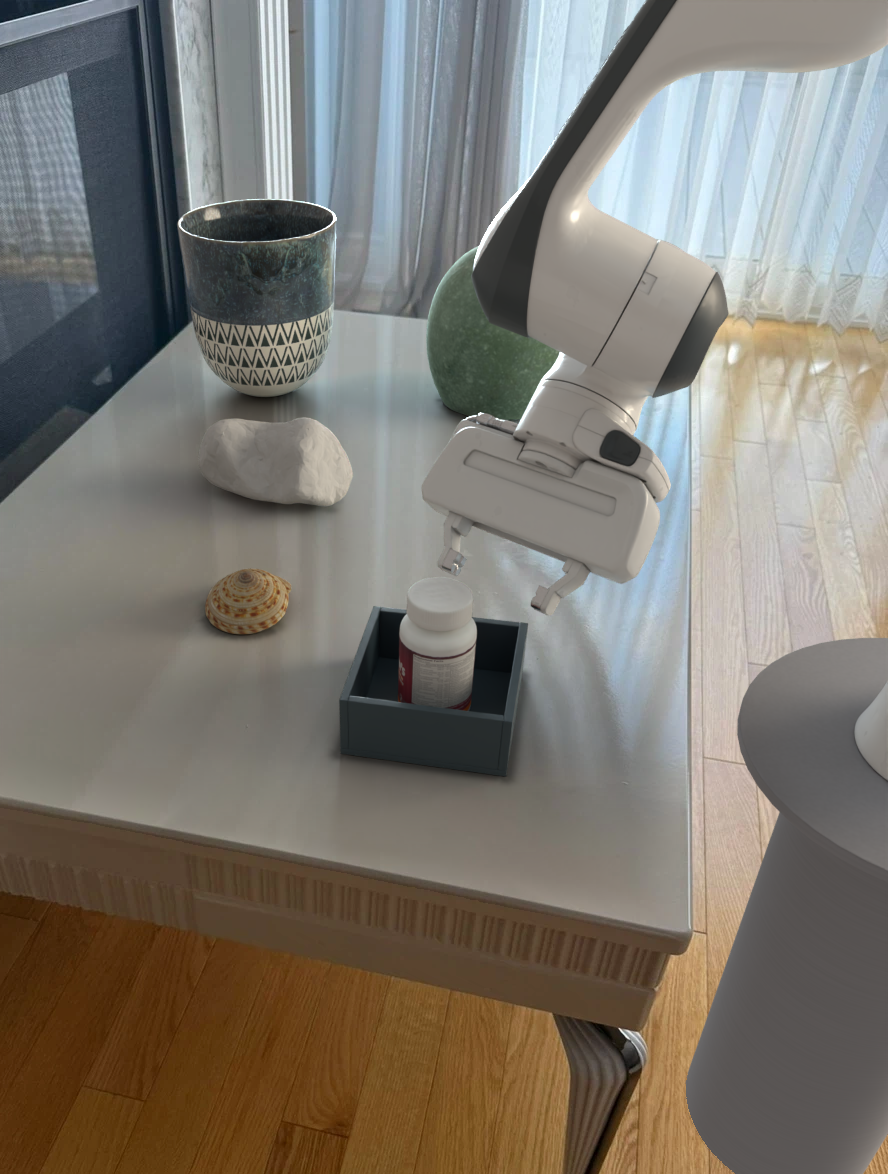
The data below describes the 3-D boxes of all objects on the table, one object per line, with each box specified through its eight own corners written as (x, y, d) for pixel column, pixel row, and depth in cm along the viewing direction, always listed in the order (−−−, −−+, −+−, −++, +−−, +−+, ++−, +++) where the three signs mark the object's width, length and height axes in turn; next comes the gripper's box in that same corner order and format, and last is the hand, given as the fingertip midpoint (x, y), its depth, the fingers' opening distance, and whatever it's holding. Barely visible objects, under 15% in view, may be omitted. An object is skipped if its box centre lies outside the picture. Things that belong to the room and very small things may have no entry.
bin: (522, 675, 92) (528, 622, 89) (506, 776, 82) (512, 722, 79) (373, 657, 95) (373, 605, 91) (340, 753, 85) (338, 699, 81)
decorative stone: (367, 457, 120) (342, 406, 110) (344, 535, 117) (317, 490, 108) (232, 445, 125) (198, 396, 116) (208, 519, 123) (171, 475, 114)
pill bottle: (401, 682, 91) (403, 570, 83) (472, 686, 90) (481, 574, 83) (394, 727, 86) (396, 613, 79) (469, 733, 85) (478, 618, 78)
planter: (245, 432, 132) (231, 252, 118) (169, 384, 144) (148, 216, 130) (368, 393, 140) (368, 222, 127) (287, 351, 152) (278, 191, 139)
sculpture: (571, 379, 143) (590, 223, 130) (573, 429, 131) (595, 261, 118) (429, 374, 145) (434, 219, 132) (419, 422, 133) (424, 257, 120)
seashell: (305, 569, 102) (277, 580, 95) (299, 625, 104) (272, 641, 96) (227, 556, 104) (194, 567, 97) (223, 612, 106) (190, 626, 98)
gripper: (453, 390, 89) (378, 537, 89) (673, 459, 78) (586, 625, 79) (481, 423, 94) (410, 561, 95) (689, 492, 83) (608, 646, 84)
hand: (492, 591), depth 87 cm, fingers open, 8 cm apart
